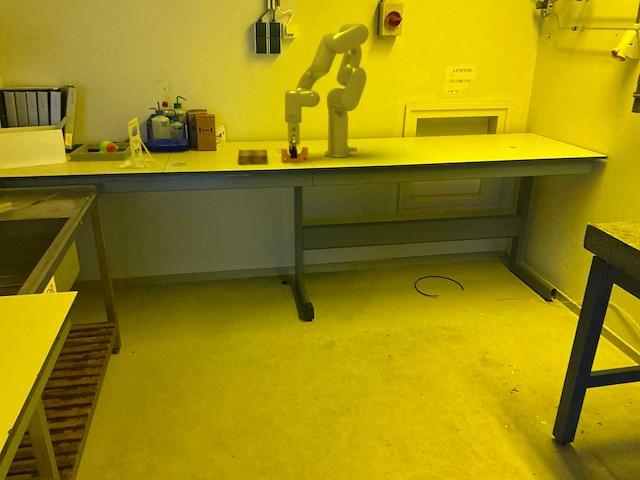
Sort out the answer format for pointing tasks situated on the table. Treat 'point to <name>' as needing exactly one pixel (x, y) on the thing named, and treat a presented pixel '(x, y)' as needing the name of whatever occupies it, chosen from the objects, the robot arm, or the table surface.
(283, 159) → the pipe clamp
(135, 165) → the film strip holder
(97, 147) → the grey square tray
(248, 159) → the walnut block
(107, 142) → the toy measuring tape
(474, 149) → the table surface
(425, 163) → the table surface
